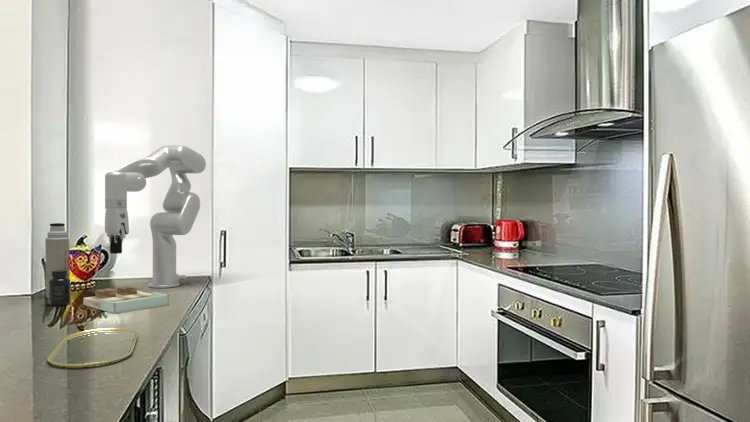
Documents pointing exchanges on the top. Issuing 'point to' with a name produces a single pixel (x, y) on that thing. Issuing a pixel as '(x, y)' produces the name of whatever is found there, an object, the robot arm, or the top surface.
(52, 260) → the thermos bottle
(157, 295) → the tray
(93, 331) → the serving platter
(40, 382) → the top surface
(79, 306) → the top surface
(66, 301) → the supplement bottle
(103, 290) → the walnut tile
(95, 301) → the maple board
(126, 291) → the walnut tile
